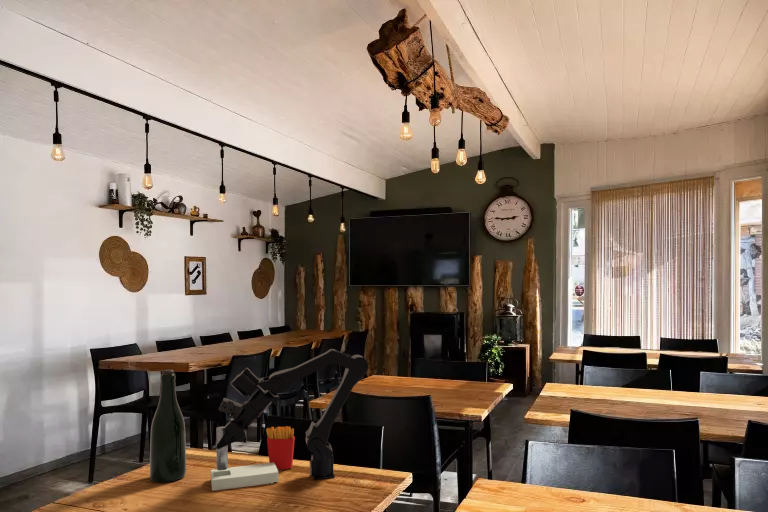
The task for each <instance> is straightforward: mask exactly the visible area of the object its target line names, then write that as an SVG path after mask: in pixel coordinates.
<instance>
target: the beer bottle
mask: <svg viewBox="0 0 768 512" xmlns="http://www.w3.org/2000/svg"><path fill="white" fill-rule="evenodd" d="M174 371H175V370H174V369H164V370H162V372H161V373H162V374H160V393H159V394H160V395H159V401H158V404H157V408H156V410H155V413H154V416H153V418H152V420H151V421H152V422H151V427H150V439H149V441H150V442H149V443H150V444H149V447H150V448H149V449H150V450H149V478H150V480H151V481H152V482H153V483H170V482H174V481H179V480H181V479H182V478H183V477H185V476H186V473H187V454H186V453H187V448H186V447H187V446H186V445H187V444H186V426H185V425H186V424H185V419H184V415H183V413H182V411H181V408H180V406H179V403H178V400H177V393H176V392H177V389H176V373H175V372H174ZM178 479H179V480H178Z"/></svg>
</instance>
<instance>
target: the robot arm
mask: <svg viewBox="0 0 768 512" xmlns="http://www.w3.org/2000/svg"><path fill="white" fill-rule="evenodd" d="M332 364H335V365H337V366H340V367H343V368H345V369H344V373H343V377H342V380H341V381H340V382H339V385H338V386H337V389H336V390H335V392H334V394H333V396H332V398H331V399H330V401H329V403H328V405H327V406H326V409H325V410H324V411H323V413H322V416H321V417H320V419H318V421H317V422H316V423H315V422H314V421H312V420H311V423H310V426H309V428H308V429H307V430H306V431H305V443H306V448H307V449H308V452H310V453H312V454H310V455H311V456H310V457H311V459H310V460H309V474H310V476H311V477H312V478H313V480H314V481H315V480H322V479H323V478H324V479H330V478H331V477H332V478H336V474H334V454H333V453H334V451H333V448H332V445H331V443H329V441H328V440H329V437H330V434H331V429H332V427H333V425H334V423H335V421H336V419H337V417H338V415H339V414H340V412H341V410H342V408H343V406H344V405H345V403H346V401H347V400H348V398H349V396H350V395H351V393H352V390H353V388H354V387H355V386H356V385H357V384H358V383H359V382H360V381H361V380H362V379H363V377H364V376H365V375H366V374H367V372H368V370H369V366H370V365H369V362H368V360H367V359H366V358H365V357H363V356H362V355H360V354H354V355H350V354H347V353H345V352H341V351H338V350H336V349H334V348H330V349H328V350H326V351H325V352H324V353H322V354H319V355H316V356H315V357H313V358H311V359H308V360H307V361H305V362H303V363H301V364H299V365H296V366H295V367H294V366H293V367H291V368H285V369H282V370H277V371H275V372H273V373H271V374H270V375H269V376H265V377H259V378H258V377H257V376H256V375H255V374H254V373H253V372H252V371H251V370H250V369H249V368H248V367H246V368H245V369H243V371H241V373H239V374H237V375H236V376H235V377H234V379H233V380H232V381H231V382H230V385H231V386H232V387H233V389H234V390H236V391H237V392H238V393H239V394H240V395H241V396H243V397H246V396H247V397H249V399H248V400H247V401H243V402H242V403H239V402H236V401H234V400H232V399H230V398H226V397H223V399H222V401H221V402H220V406H219V408H218V411H220V412H222V413H226V414H229V418H227V423H226V424H225V433H224V435H223V436H222V438H221V439H220V441H219V442H218V444H217V445H215V449H216V450H217V449H220V448H222V447H225V446H227V445H228V446H229V445H231V444H233V443H236V442H240V443H242V442H243V441H244V440H245V438H247V437H246V436H247V431H248V430H249V429H250V426H252V424H253V423H254V422H255V421H257V420H258V419H259V418H260V416H261V415H262V413H264V411H266V410H267V408H268V407H269V406H270V405H271V404H273V405H274V406H276V407H279V398H280V396H279V394H282V393H283V392H285V391H287V389H289V388H291V387H292V386H293V385H294V384H295V383H297V382H298V381H299V380H301V379H303V378H305V377H308V376H310V375H311V374H313V373H315V372H317V371H320V370H322V369H324V368H325V367H328V366H330V365H332ZM253 393H254V394H253ZM274 394H276V395H274ZM251 395H252V396H251ZM230 418H231V419H230Z"/></svg>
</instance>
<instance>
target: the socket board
mask: <svg viewBox="0 0 768 512" xmlns="http://www.w3.org/2000/svg"><path fill="white" fill-rule="evenodd" d="M279 476H280V475H279V469H277V468H276V465H275V463H274V462H273V463H269V462H267V463H266V462H265V463H258V464H250V465H240V466H233V467H232V466H231V467H228V469H226V470H217V468H216V469H215V468H214V469H211V470H210V482H211V491H221V490H222V491H223V490H228V489H238V488H244V487H246V488H247V487H253V486H260V485H270V484H275V483H274V482H278V483H280V480H279V478H280V477H279ZM269 483H270V484H269Z"/></svg>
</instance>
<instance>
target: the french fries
mask: <svg viewBox="0 0 768 512" xmlns="http://www.w3.org/2000/svg"><path fill="white" fill-rule="evenodd" d="M265 431H266V436H267V438H266V442H267V454H268V463H273V462H274V463H275V465H276V468H277V470H289V468H291V469H292V467H293V463H294V462H293V461H294V450H295V438H296V437H295V436H294V434H295V432H294V431H295V429H294V427H293V428H291V426H288V425H286V426H277V427H274V426H271V427H267V428H265Z"/></svg>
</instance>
